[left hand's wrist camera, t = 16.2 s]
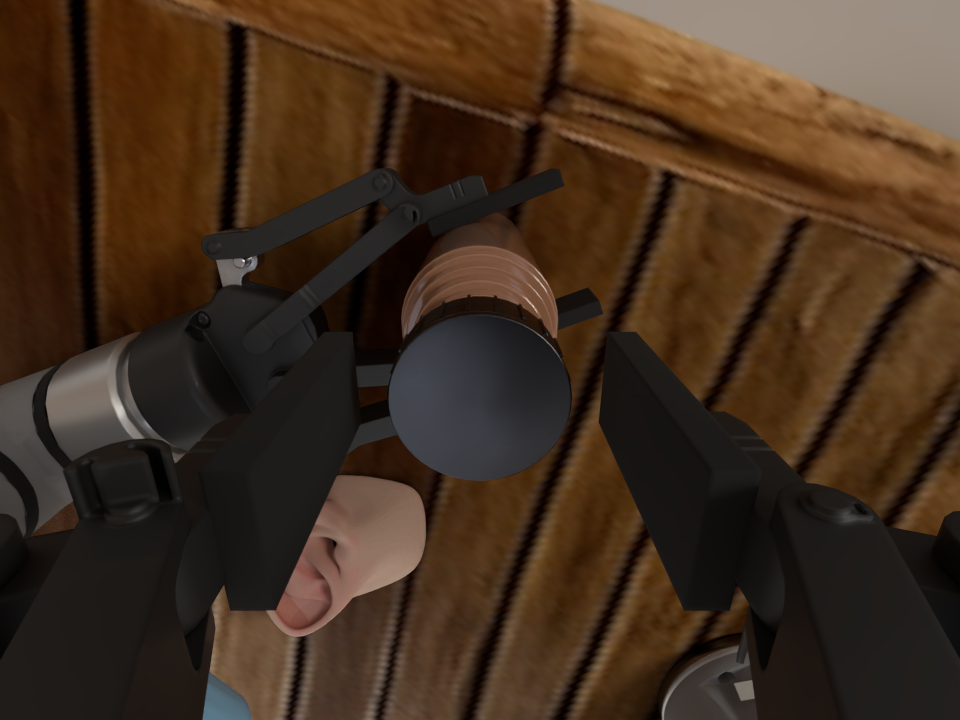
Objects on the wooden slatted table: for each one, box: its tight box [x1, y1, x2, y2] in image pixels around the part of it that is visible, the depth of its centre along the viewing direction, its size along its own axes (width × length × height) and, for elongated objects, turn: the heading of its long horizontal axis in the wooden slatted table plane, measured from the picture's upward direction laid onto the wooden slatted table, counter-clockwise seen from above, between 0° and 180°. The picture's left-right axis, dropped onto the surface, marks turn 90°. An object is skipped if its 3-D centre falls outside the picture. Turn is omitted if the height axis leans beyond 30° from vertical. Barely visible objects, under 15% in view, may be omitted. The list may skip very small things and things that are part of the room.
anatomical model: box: [267, 475, 426, 636], centre depth 38 cm, size 13×4×12 cm
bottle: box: [401, 212, 558, 339], centre depth 23 cm, size 6×6×20 cm
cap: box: [387, 295, 572, 480], centre depth 13 cm, size 5×5×2 cm
